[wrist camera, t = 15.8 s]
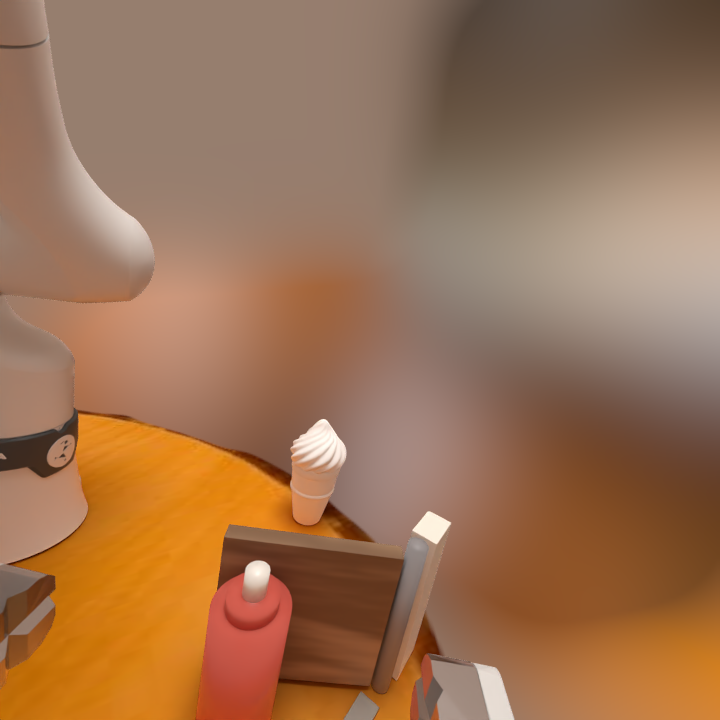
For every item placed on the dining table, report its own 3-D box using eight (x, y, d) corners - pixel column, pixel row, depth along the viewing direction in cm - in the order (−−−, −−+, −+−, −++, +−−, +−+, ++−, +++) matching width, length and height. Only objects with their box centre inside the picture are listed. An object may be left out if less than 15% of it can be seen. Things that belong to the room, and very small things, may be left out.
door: (217, 638, 36) (234, 512, 32) (367, 652, 37) (398, 534, 34) (206, 672, 33) (224, 537, 29) (369, 686, 34) (404, 559, 31)
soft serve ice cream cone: (333, 539, 53) (354, 438, 49) (275, 532, 52) (292, 429, 48) (332, 502, 61) (351, 414, 57) (282, 496, 60) (298, 405, 56)
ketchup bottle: (206, 789, 26) (230, 622, 23) (185, 705, 31) (203, 554, 27) (282, 735, 30) (313, 585, 26) (254, 667, 34) (278, 531, 31)
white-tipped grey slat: (219, 916, 21) (256, 717, 18) (393, 635, 40) (428, 510, 37) (247, 961, 20) (292, 758, 16) (413, 649, 39) (451, 522, 35)
